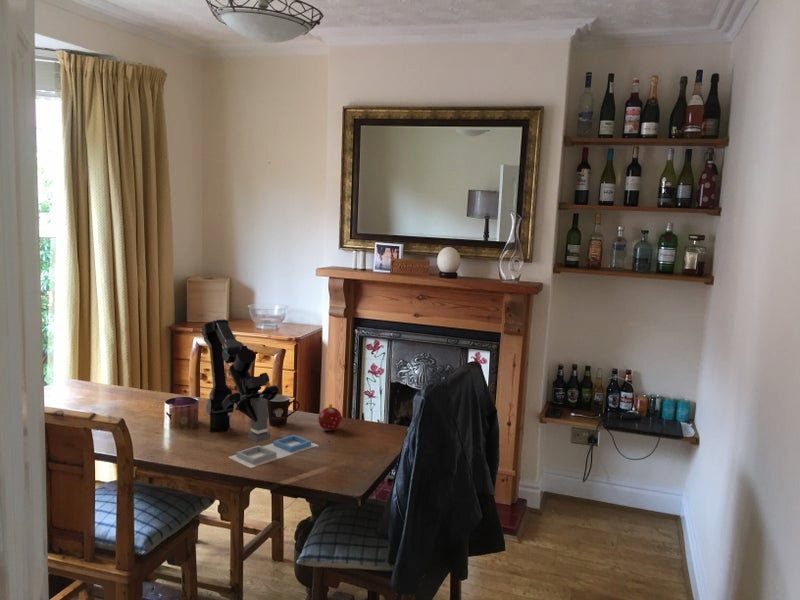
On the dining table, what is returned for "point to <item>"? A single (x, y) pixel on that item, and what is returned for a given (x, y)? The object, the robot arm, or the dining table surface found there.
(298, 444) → the board
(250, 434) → the plug
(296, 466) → the dining table surface
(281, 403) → the coffee mug
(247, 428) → the dining table surface
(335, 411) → the christmas ornament
